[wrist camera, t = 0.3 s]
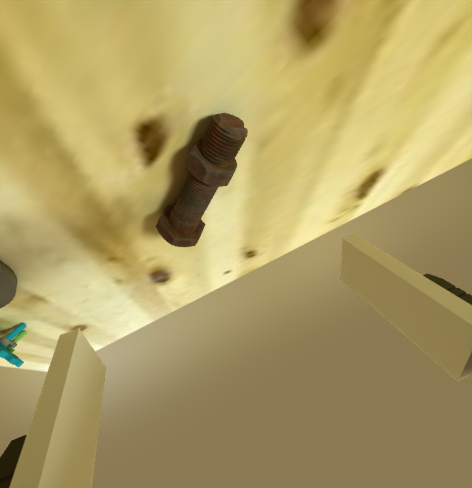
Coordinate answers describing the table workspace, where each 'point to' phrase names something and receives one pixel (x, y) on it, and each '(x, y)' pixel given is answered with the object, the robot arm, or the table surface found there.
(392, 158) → the table surface
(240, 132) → the bolt
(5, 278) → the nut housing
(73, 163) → the table surface
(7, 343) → the teal spiky piece
